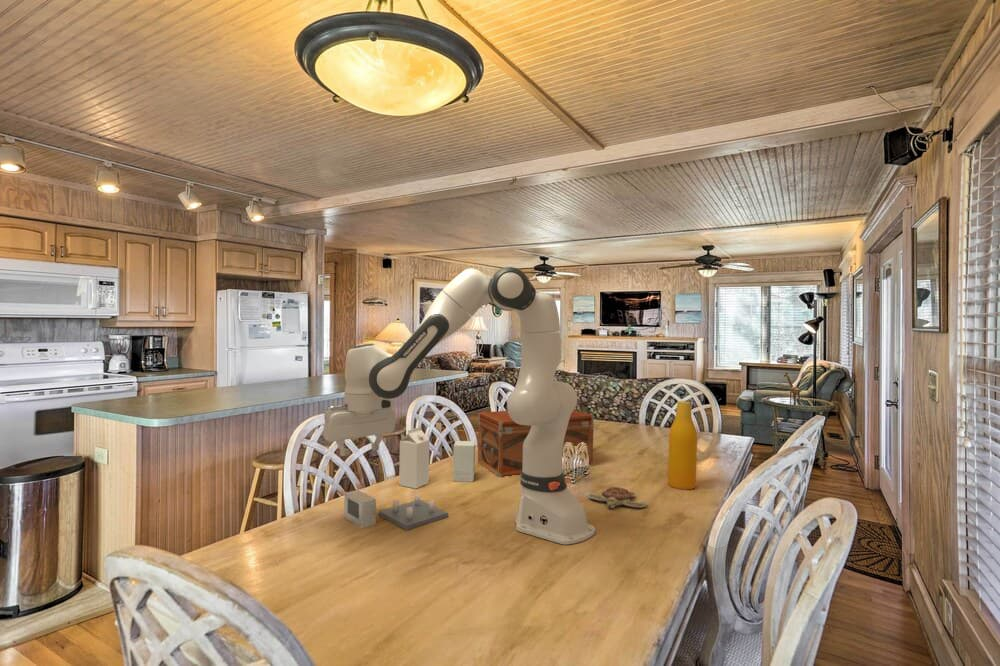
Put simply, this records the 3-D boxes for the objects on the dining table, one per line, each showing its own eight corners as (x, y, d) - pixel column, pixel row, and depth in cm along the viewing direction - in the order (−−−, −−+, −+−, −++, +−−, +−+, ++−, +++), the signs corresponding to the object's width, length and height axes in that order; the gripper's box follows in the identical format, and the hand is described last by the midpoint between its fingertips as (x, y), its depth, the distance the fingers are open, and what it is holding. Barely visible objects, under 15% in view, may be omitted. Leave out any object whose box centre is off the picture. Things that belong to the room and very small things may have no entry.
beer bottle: (691, 482, 182) (694, 400, 181) (699, 490, 172) (701, 405, 172) (664, 480, 182) (667, 399, 182) (670, 489, 173) (673, 404, 173)
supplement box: (473, 482, 177) (474, 445, 177) (452, 481, 177) (452, 445, 177) (475, 475, 184) (475, 440, 184) (454, 475, 184) (455, 440, 184)
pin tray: (448, 516, 145) (448, 502, 145) (406, 530, 136) (406, 514, 136) (419, 503, 155) (419, 489, 155) (378, 515, 146) (379, 500, 146)
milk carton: (398, 485, 172) (399, 429, 171) (412, 479, 178) (412, 425, 178) (416, 489, 168) (416, 431, 168) (428, 483, 175) (429, 427, 174)
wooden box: (476, 463, 201) (477, 412, 200) (565, 453, 218) (566, 406, 217) (498, 478, 182) (499, 422, 182) (593, 466, 199) (594, 415, 199)
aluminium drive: (375, 524, 139) (375, 499, 139) (361, 528, 137) (362, 502, 136) (357, 514, 147) (357, 489, 146) (344, 517, 144) (344, 492, 144)
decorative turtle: (580, 506, 157) (580, 490, 157) (596, 490, 172) (596, 475, 172) (639, 517, 149) (640, 500, 148) (651, 500, 163) (652, 485, 163)
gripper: (330, 408, 131) (329, 461, 132) (398, 400, 145) (397, 449, 146) (319, 404, 136) (318, 456, 136) (386, 397, 150) (385, 444, 150)
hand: (360, 452), depth 141 cm, fingers open, 8 cm apart
